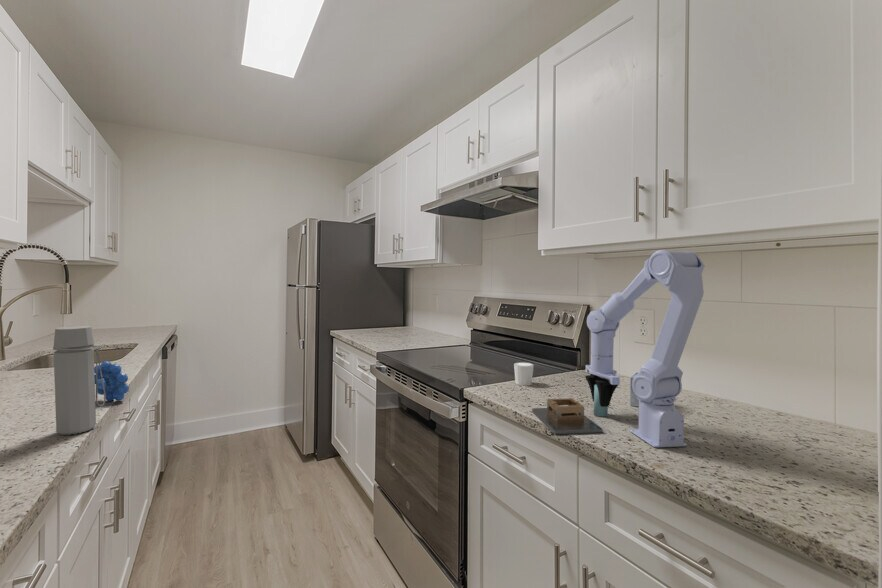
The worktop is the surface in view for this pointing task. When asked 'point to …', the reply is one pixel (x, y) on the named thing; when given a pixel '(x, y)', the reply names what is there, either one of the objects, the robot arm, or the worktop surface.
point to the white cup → (523, 373)
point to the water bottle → (75, 379)
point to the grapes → (111, 381)
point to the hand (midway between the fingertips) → (600, 403)
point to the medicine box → (633, 394)
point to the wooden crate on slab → (566, 417)
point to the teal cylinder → (598, 404)
